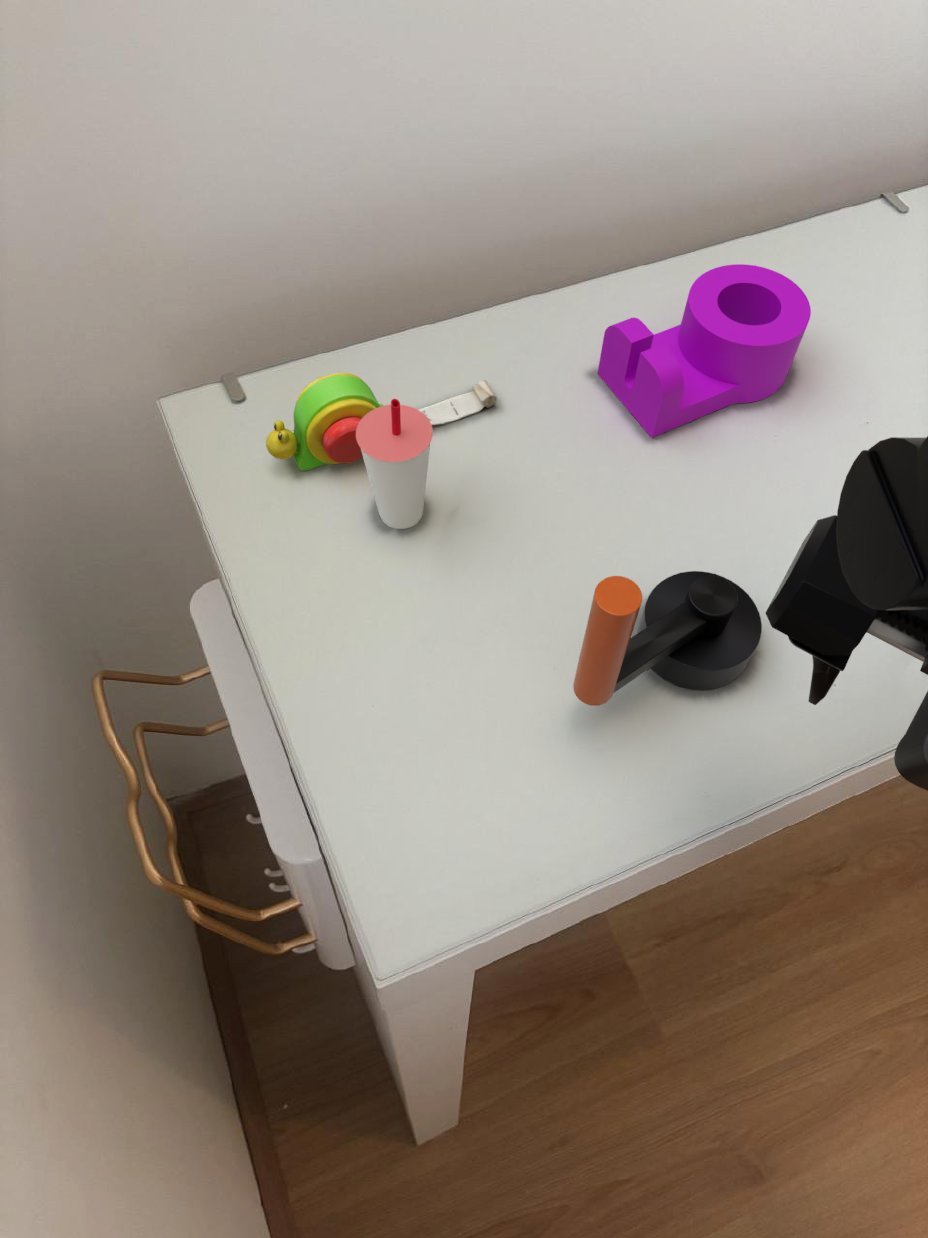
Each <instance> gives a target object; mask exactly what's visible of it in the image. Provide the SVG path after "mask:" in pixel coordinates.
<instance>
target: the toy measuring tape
mask: <svg viewBox="0 0 928 1238" xmlns="http://www.w3.org/2000/svg"><path fill="white" fill-rule="evenodd" d="M496 402H497V396H496V394H495V393H494V391H493V389H492V387H491V386H490V384H489V382H488V381H487V380H486V379H480V380H478V381H476V383H474V384H473V385H472V390H471V391H469V392H466V393H462V394H458V395H457V394H456V396H452V397H450V398H447V399H445V400H441V401H440V402H437V403H435V404H432V405H427V406H425V407H421V408H419V409H418V410H419V411H420V412H422V413H423V414H424V415H425V416H426V417H427V418H428V419H429V421H430V423H431V425H432V426H436V425H446V424H448V423H452V422H455V421H459V420H460V419H463V418H465V417H468V416H471V415H474V414H477V413H479V412H481V411H482V410H483V409H484V408H487V409H489V408H490V407H492V406H493V405H494V404H496ZM382 406H385V405H384V404H381V403H379V401H378V400H377V398H376V396H375V394H374V392H373V391H372V389H371V387H370V386H369V385H368V384H367V382H365V381H364V380H363V379H362V378H361V377H360V376H358V375H355V374H353V373H348V372H336V373H331V374H327V375H324V376H321V377H318V378H317V379H314V380H313V381H312V382H310V383H309V384H308V385H306V387H304V388H303V389H302V391H301V392H300V393H299V394H298V397H297V400H296V402H295V406H294V410H293V431H291V430H290V429H287V428H285V422H284V421H282V420H280V419H278V420H277V419H276V420H275V421H274V423H273V430H271V431H270V432H269V433H268V435H267V437H266V439H265V447H266V450H267V452H268V453H269V455H271V456H272V457H273V458H275V459H278V460H288V459H290V458H292V457H293V459H294V461H295V463H296V466H297V468H298V469H299V471H301V472H304V471H309V470H311V469H316V468H318V467H321V466H324V465H327V464H332V465H334V464H337V465H338V464H350V463H355V462H358V461H359V460H361V459H363V455H362V451H361V448H360V446H359V445H358V443H357V440H356V429H357V426H358V424H359V422H360V420H361V419H362V418H363V417H364V416H365V415H366V414H367V413H369V412H370V411H372V410H374V409H376V408H379V407H382Z"/></svg>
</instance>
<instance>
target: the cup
mask: <svg viewBox="0 0 928 1238" xmlns="http://www.w3.org/2000/svg"><path fill="white" fill-rule="evenodd" d="M433 434H434V431H433V425H431V423H430V421H429V419H428V418H427V417H426V416H425V415H424V414H423V413H422V412H420V411H419V409H417V408H415V407H412V406H410V405H405V404H401V402H400V401H399V399H397V398H392V399H391V401H390V404H386V405H384V406H382V407H379V408H376V409H374V410H372V411H370V412H369V413H367V414H366V415H365V416H364V417H363V418H362V419H361V420H360V422H359V424H358V426H357V429H356V440H357V443H358V445H359V446H360V448H361V451H362V455H363V457H362V459H363V462H364V466H365V469H366V472H367V476H368V481H369V483H370V487H371V490H372V494H373V498H374V501H375V504H376V508H377V511H378V514H379V517H380V520H381V521H382V522H383V524H384V525H386V526H387V527H389V528H392V529H396V530H405V529H409V528H412V527H414V526H415V525H417V524H419V522H420V521H421V519H422V518H423V515H424V509H425V508H424V507H425V499H426V490H427V479H428V469H429V460H430V459H429V458H430V447H431V442H432V439H433V436H434V435H433Z"/></svg>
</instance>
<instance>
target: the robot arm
mask: <svg viewBox="0 0 928 1238" xmlns="http://www.w3.org/2000/svg"><path fill="white" fill-rule="evenodd" d="M836 513H837V515H836V514H833V515H829V516H827V517H823V518H820V519H817V520H816V521H815V523H814V525H813V526H812V527H811V529H810V531H809V532H808V534H807V535H806V536H805V538H804V540H803V541H802V543H801V545H800V547H799V549H798V551H797V553H796V555H795V557H794V558H793V560H792V562H791V564H790V566H789V567H788V570H787V571H786V573H785V575H784V577H783V578H782V580H781V582H780V584H779V587H778V588H777V590H776V592H775V594H774V596H773V598H772V599H771V601H770V604H769V605H768V607H767V609H766V611H765V616H766V618H767V620H768V622H769V625H770V626H771V628H772V629H774V630H776V631H778V632H780V633H782V634H783V635H784V636H787V637H788V641H789V642H790V644H791V645H793V646H794V647H795V648H797V649H800V650H802V651H803V652H805V653H807V654H809V655H810V656H811V657H812V673H811V680H810V687H809V694H808V703H809V704H811V705H814V706H816V705H818V704H819V703H820V702H821V701H822V700H824V699H825V698H826V696H827V694H828V693H829V691H830V690H831V688H832V686H833V685H834V683H835V682H836V680H837V678H838V676H839V674H840V673H841V672H844V671H845V669H846V666H847V665H848V662H849V661H850V658H851V656H852V654H853V651H854V650H855V649H856V648H857V647H858V646H859V645H860V643H861V642H862V640H863V639H864V637H865V635H866V634H869V635H871V636H873V637H874V638H877V639H878V640H880V641H883V642H885V643H886V644H888V645H890V646H892V647H894V648H896V649H898V650H900V651H902V652H903V653H905V654H907V655H909V656H911V657H913V658H915V659H916V660H919V661H921V662H922V665H921V667H920V669H919V672H921V673H923V674H925V675H927V676H928V435H926V437H889V438H885V439H882V440H879V441H877V442H876V443H875V444H874V445H872V446H871V447H870V448H869V449H863V450H861V451H860V453H858V455H857V456H856V457H855V459H854V460H853V462H852V464H851V466H850V468H849V470H848V472H847V474H846V476H845V479H844V482H843V486H842V489H841V491H840V496H839V502H838V506H837V511H836ZM893 760H894V765H895V768H896V770H897V772H898V773H899V775H900V776H901V777H902V778H903V779H904V780H906V781H907V782H909V783H911V784H912V785H914V786H916V787H918V788H921V789H923V790H925V791H927V792H928V690H927V691H926V693H925V695H924V697H923V699H922V701H921V703H920V705H919V707H918V708H917V711H916V712H915V714H914V716H913V718H912V720H911V722H910V723H909V726H908V728H907V730H906V732H905V733H904V735H903V736H902V737H901V739H900V741H899V742H898V744H897V746H896V748H895V750H894V757H893Z"/></svg>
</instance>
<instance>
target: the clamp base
mask: <svg viewBox="0 0 928 1238" xmlns="http://www.w3.org/2000/svg"><path fill="white" fill-rule="evenodd" d="M703 576H717V577H720V578H723V579H725V580H726V581H728V582H729V583H730V584H731V585H732V586H733V587H734V589H735V590H736V593H737V598H738V600H737V605H736V607H735V609H734V611H733V613H732V615H731V617H730V619H729V621H728V623H727V626H726V627H725V629H724V630H723V631H722V632H720V633H719V634H717V635H714V636H701V635H697V636H696V637H695V638H693V639H692V640H690V641H689V642H687V643H686V644H684V645H683V646H681V647H680V648H679V649H677V650H676V651H674V652H673V653H671V654H670V655H668V656H667V657H665V658H664V659H663V660H661V661H660V662H658V663H657V664H655V665H654V666H652V667H651V668H650V669H651V670H652V671H653V672H654V673H655V674H656V675H657V676H658V677H660V678H661V679H663V680H664V681H666V682H668V683H670V684H671V685H674V686H677V687H679V688H683V689H686V690H693V691H710V690H711V691H712V690H716V689H719V688H722V687H725V686H727V685H729V684H731V683H733V681H735V680H736V679H738V677H740V676H741V675H742V673H743V672H744V671H745V669H746V667H747V665H748V663H749V662H750V660H751V658H752V656H753V654H754V653H755V651H756V649H757V647H758V646H759V643H760V641H761V638H762V637H761V636H762V633H763V632H762V630H763V627H762V619H761V614H760V611H759V609H758V607H757V605H756V603H755V602H754V600H753V599H752V598H751V596H750V595H749V594H748V592H746V591H745V589H743V588H742V587H741V586H739V585H738V584H737V583H736V582H733V580H730V579H729V578H727V577H725V576H723V575H719V574H716V573H712V572H710V571H709V572H708V571H698V570H691V571H683V572H679V573H676V574H672V575H670V576H667V577H666V578H665V579H663V580H661V581H660V582H659V583H657V585H655V586H654V588H653V589H652V590H651V592H650V593H649V595H648V597H647V599H646V602H645V604H644V608H643V610H642V614H641V617H640V619H639V623H638V626H637V627H638V628H637V634H638V633H639V632H641V631H642V630H644V629H645V628H647V627H648V626H650V625H651V624H653V623H654V622H656V621H657V620H659V619H660V618H662V617H663V616H665V615H666V614H668V613H669V612H671V611H672V610H674V609H675V608H677V607H678V606H680V605H681V604H683V603H684V601H685V598H686V596H687V593H688V591H689V588H690V586H691V584H692V583H693V582H694V581H695V580H696V579H698V578H700V577H703Z"/></svg>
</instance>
